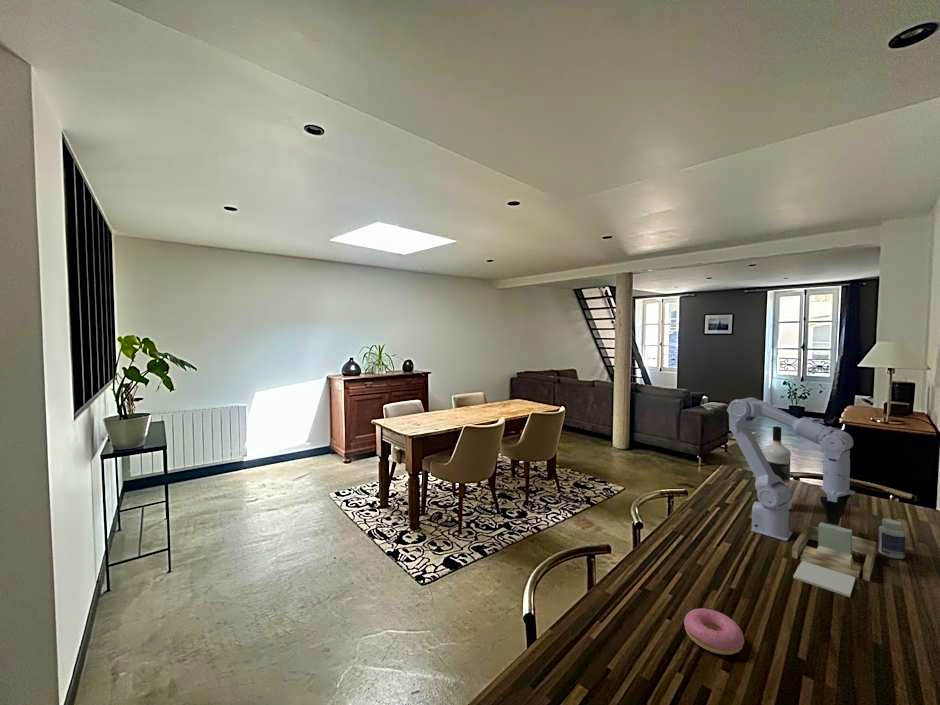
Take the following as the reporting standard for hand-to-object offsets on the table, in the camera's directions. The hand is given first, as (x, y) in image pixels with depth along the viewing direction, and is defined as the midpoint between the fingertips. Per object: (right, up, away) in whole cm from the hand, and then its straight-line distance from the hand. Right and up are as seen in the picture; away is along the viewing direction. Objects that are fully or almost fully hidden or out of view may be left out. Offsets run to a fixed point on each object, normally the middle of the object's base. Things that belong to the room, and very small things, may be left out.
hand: (835, 519), depth 119 cm
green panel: (0, -10, 0) cm, 10 cm away
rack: (-1, -10, -1) cm, 10 cm away
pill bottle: (+16, -10, 0) cm, 19 cm away
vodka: (+9, -9, +35) cm, 38 cm away
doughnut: (-55, -12, -33) cm, 65 cm away
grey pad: (-13, -11, -12) cm, 21 cm away
